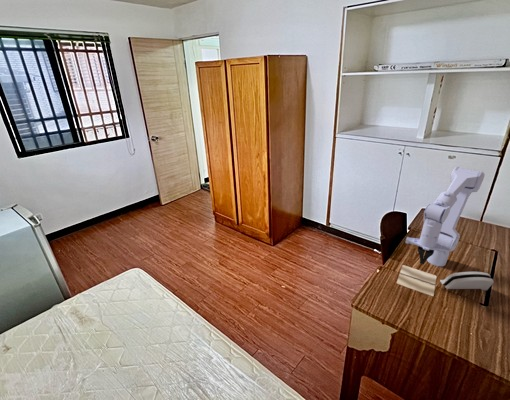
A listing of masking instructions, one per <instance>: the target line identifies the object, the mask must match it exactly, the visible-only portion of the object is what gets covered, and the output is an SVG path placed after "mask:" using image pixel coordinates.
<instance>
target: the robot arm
mask: <svg viewBox="0 0 510 400" xmlns="http://www.w3.org/2000/svg"><path fill="white" fill-rule="evenodd" d="M449 179H450V182H451V183H450V185H449V186H448V188H447V190H446V191H441V193H440V194H439V195H438V196H437V197H436V199H434V201H433V202H432V203H429V204H427V205H426V207H425V210H424V211H423V219H422V221H423V225H422V229H421V233H420V236H419V238H415V237H409V236H406V239H405V244H408V245H409V244H410V245H414V246H417V252H418V254H419V255H418V256H419V264H420V265H425V262H426V261H427V262H428V263H429V264H431V265H433V266H436V267H445V266H446V264H447V261H448V258H449V255H450V252H453V251H455V249H456V248H457V246H458V244H459V241H460V238H461V237H460V236H461V235H460V233H459V232H458V231H457V230H456V226H457V225H458V222H459V220H460V217H461V215H462V214H463V211H464V208H465V206H466V204H467V202H468V199H469V198H470V195H471V194H473V193H477V192H478V191H479V190H480V188H481V187H482V183H483V181H484V179H485V173H484V171H478V170H475V169H474V170H473V169H469V168H464V167H460V166H455V167H454V168H453V170H452V171H451V174H450V177H449Z"/></svg>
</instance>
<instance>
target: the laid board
mask: <svg viewBox="0 0 510 400" xmlns="http://www.w3.org/2000/svg"><path fill="white" fill-rule="evenodd" d="M399 274H401V275H404V276H407V277H410V278H413V279H416V280H419V281H422V282H425V283H428V284H431V285H434V286H436V282H437V275H435V274H432V273H429V272H426V271H423V270H419V269H416V268H414V267H410V266H407V265H404V264H402V265H401V267H400V270H399Z"/></svg>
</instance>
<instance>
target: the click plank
mask: <svg viewBox="0 0 510 400" xmlns="http://www.w3.org/2000/svg"><path fill="white" fill-rule="evenodd" d="M396 284H397V285H399V286H402V287H405V288H408V289H410V290H412V291H416V292H419V293H422V294H424V295H427V296H431V297H434V295H435V289H436V285H432V284H429V283H426V282H423V281H420V280H417V279H414V278H411V277H408V276H405V275H402V274H400V273H399V274H398V278H397V281H396Z"/></svg>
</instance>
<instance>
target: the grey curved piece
mask: <svg viewBox="0 0 510 400" xmlns="http://www.w3.org/2000/svg"><path fill="white" fill-rule="evenodd" d="M439 282H440V283H441V285H442V286H444V287H445V288H446V289H447V290H468V289H469V290H479V289H480V290H481V291H488V290H489V289H490V287H491V286H492V285H493V284H494V283H495V282H494V279H493V278H491V275H490V274H489V273H487V272H485V271H483V272H482V271H461V272H460V271H459V272H455V273H454V272H453V273H450V274H449V275H448V276H447V277H445V278H444V279H439Z"/></svg>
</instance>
